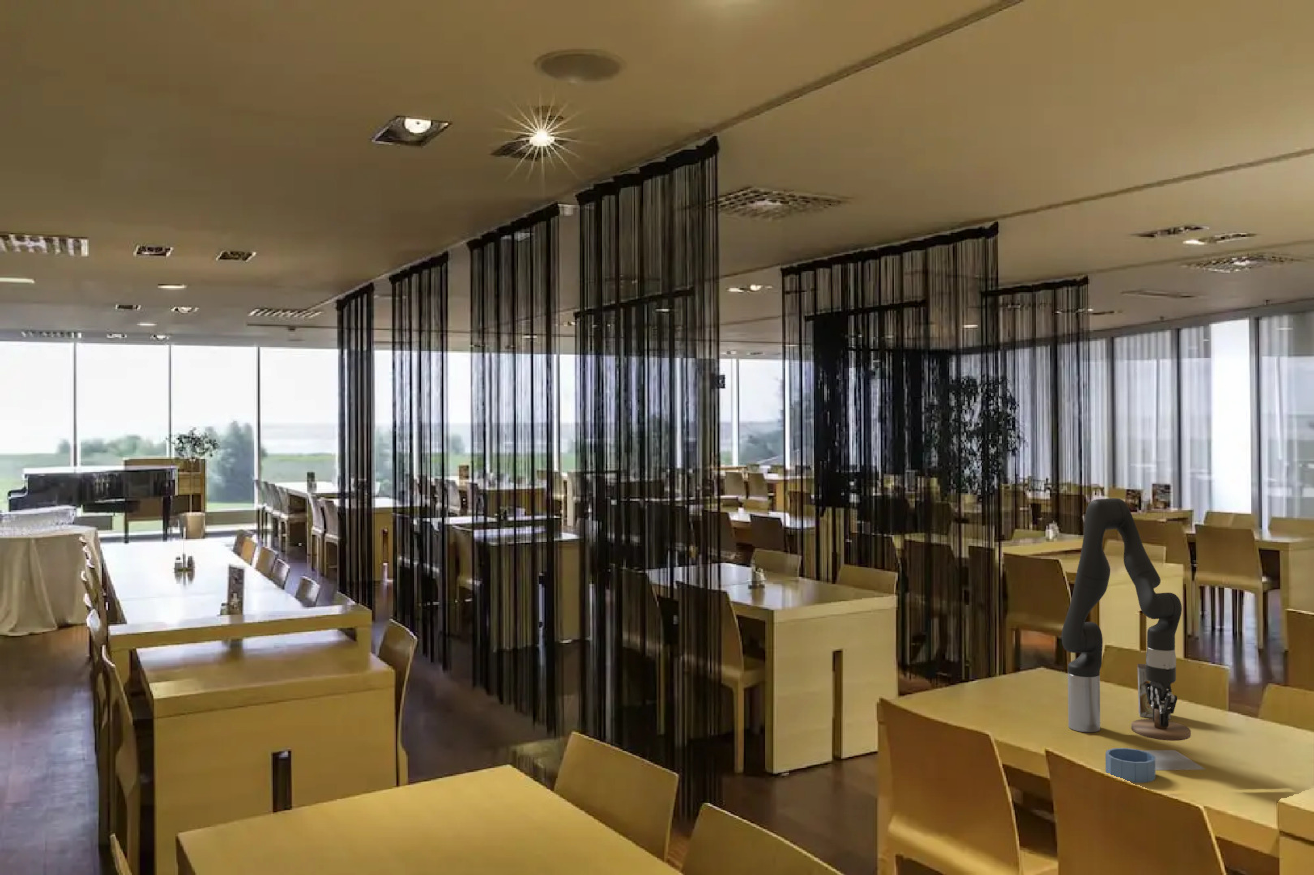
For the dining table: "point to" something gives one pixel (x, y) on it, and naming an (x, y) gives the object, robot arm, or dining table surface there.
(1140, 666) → the coffee box
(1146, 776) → the bowl
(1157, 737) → the lid
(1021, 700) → the dining table surface
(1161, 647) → the robot arm
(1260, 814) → the dining table surface
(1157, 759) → the mat
